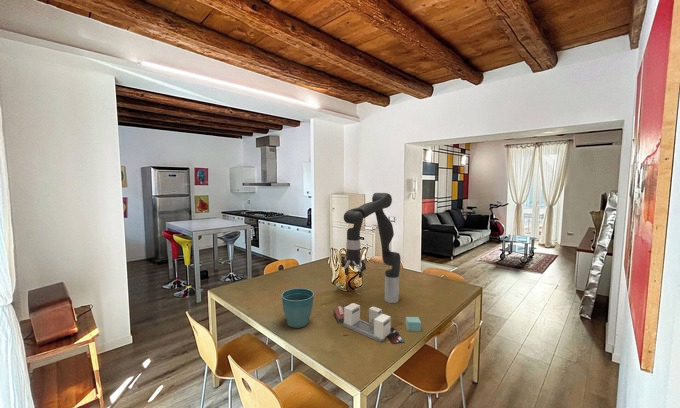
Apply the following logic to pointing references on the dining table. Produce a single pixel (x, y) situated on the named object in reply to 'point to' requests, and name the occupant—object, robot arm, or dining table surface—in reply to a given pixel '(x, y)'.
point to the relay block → (413, 324)
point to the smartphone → (395, 337)
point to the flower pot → (297, 306)
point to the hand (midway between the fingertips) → (353, 276)
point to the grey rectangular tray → (365, 329)
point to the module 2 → (382, 326)
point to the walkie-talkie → (339, 313)
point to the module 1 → (351, 314)
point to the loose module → (374, 314)
